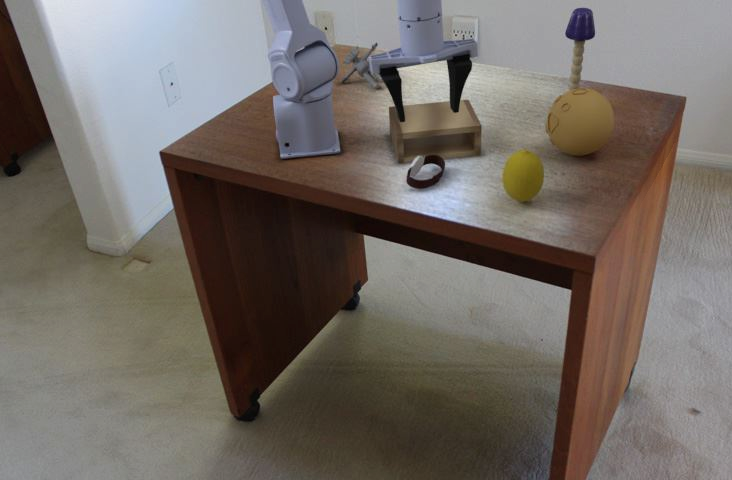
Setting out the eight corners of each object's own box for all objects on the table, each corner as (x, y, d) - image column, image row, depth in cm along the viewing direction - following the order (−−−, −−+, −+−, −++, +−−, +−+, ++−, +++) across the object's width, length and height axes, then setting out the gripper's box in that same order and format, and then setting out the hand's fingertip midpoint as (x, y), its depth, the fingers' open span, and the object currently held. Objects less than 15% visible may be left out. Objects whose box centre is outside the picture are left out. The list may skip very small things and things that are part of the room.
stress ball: (616, 143, 117) (625, 81, 110) (600, 171, 110) (610, 107, 104) (553, 133, 120) (559, 73, 114) (535, 160, 113) (540, 97, 107)
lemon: (537, 191, 106) (541, 139, 101) (545, 211, 102) (550, 158, 97) (498, 193, 106) (500, 141, 101) (504, 213, 102) (507, 160, 97)
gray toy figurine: (354, 98, 136) (326, 69, 140) (368, 110, 142) (340, 82, 145) (392, 56, 134) (363, 28, 138) (405, 70, 140) (376, 43, 143)
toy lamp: (591, 112, 126) (604, 11, 116) (567, 118, 125) (578, 16, 114) (575, 102, 129) (586, 3, 119) (552, 107, 128) (561, 8, 118)
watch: (426, 165, 114) (426, 143, 112) (453, 172, 112) (453, 150, 110) (398, 187, 109) (397, 164, 107) (425, 195, 107) (425, 172, 105)
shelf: (397, 163, 115) (396, 133, 112) (390, 135, 123) (388, 106, 120) (480, 155, 116) (481, 125, 113) (468, 128, 124) (468, 99, 121)
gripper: (370, 32, 93) (382, 134, 101) (482, 13, 94) (486, 116, 102) (361, 18, 99) (374, 115, 107) (468, 0, 100) (472, 98, 108)
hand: (428, 114), depth 105 cm, fingers open, 7 cm apart
